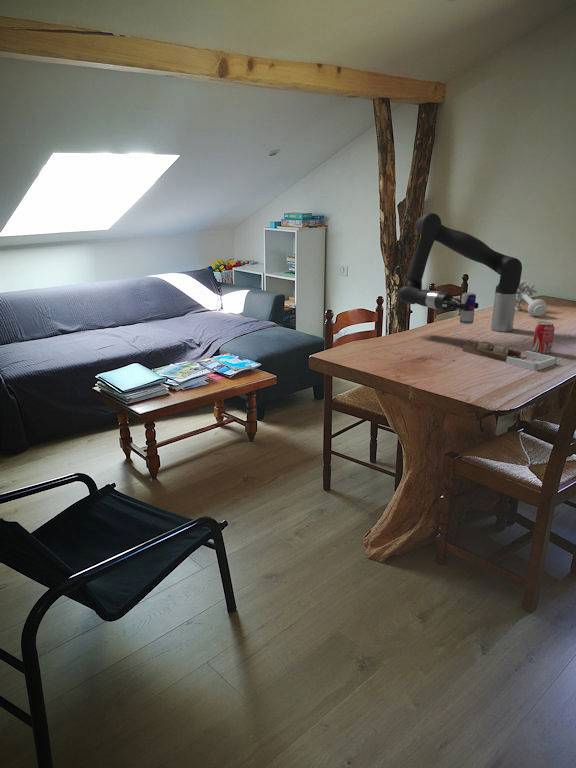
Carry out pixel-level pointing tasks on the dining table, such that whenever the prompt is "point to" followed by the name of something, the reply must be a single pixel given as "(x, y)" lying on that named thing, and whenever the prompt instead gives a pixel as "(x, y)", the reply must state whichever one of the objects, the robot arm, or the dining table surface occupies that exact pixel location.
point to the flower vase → (530, 300)
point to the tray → (544, 363)
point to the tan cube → (485, 345)
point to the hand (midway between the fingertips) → (473, 306)
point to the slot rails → (489, 353)
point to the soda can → (543, 337)
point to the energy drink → (465, 315)
